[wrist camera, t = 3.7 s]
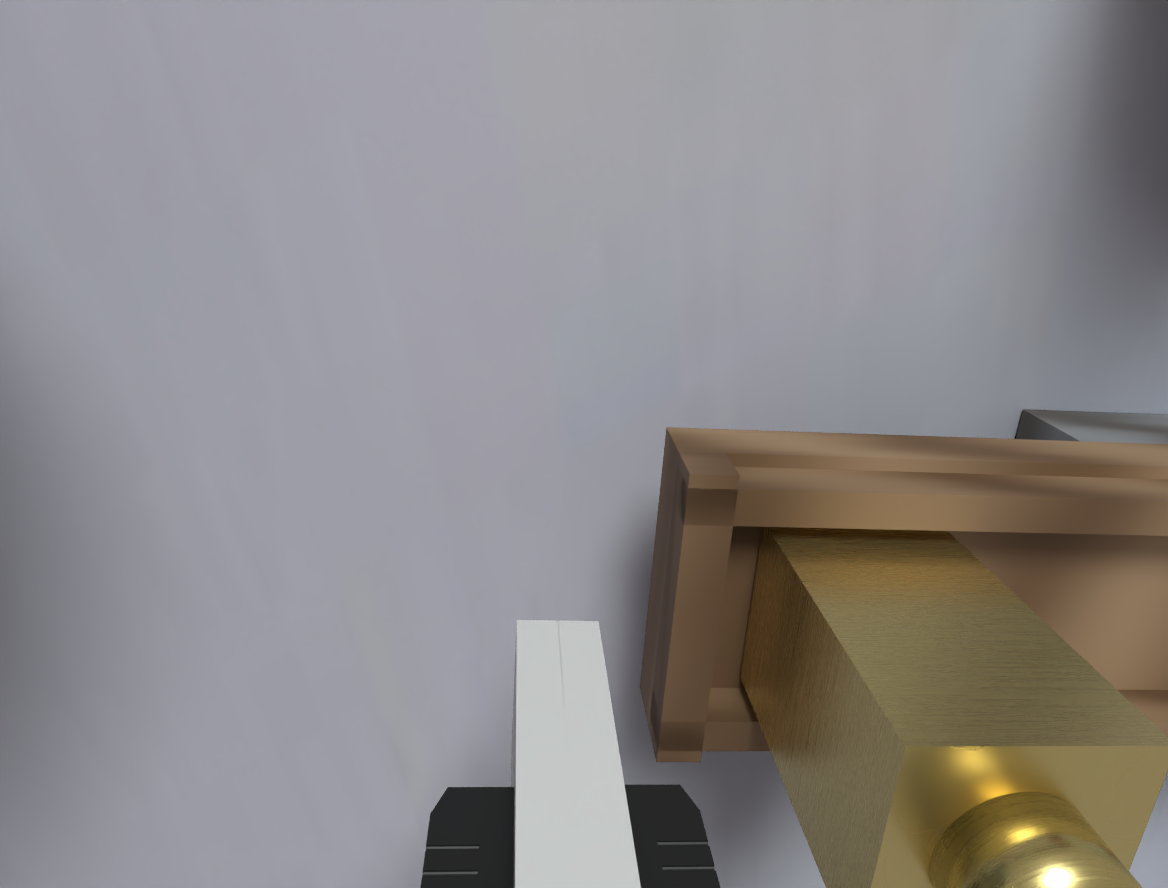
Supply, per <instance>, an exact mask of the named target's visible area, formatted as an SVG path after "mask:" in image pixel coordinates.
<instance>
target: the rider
mask: <svg viewBox="0 0 1168 888" xmlns="http://www.w3.org/2000/svg"><path fill="white" fill-rule="evenodd" d="M740 677H741V680H742V682H743V685H744V687H745V689H746V692H747V694H748V697H749V699H750V702H751V704H752V707H753V709H754V712H755V714H756V717H757V719H758V721H759V724H760V726H761V729H762V731H763V734H764V736H765V739H766V741H767V744H768V746H769V749H770V751H771V753H772V756H773V758H774V761H775V763H776V766H777V768H778V771H779V773H780V776H781V778H782V780H783V783H784V785H785V788H786V790H787V793H788V795H789V798H790V800H791V803H792V805H793V808H794V810H795V812H796V815H797V817H798V820H799V822H800V825H801V827H802V830H803V832H804V835H805V837H806V840H807V842H808V844H809V847H810V849H811V852H812V854H813V857H814V859H815V862H816V864H817V867H818V869H819V871H820V874H821V876H822V879H823V881H824V884H825V886H826V888H1142V887H1141V886H1140V884H1139V883H1138V882H1137V881H1136V880H1135V878H1134V877H1133V876H1132V875H1131V873H1130V872H1129V869H1130V867H1131V864H1132V862H1133V859H1134V856H1135V854H1136V851H1137V849H1138V846H1139V844H1140V841H1141V838H1142V836H1143V833H1144V831H1145V828H1146V825H1147V823H1148V820H1149V818H1150V815H1151V812H1152V810H1153V807H1154V805H1155V802H1156V800H1157V797H1158V794H1159V792H1160V789H1161V787H1162V784H1163V781H1164V779H1165V776H1166V774H1167V771H1168V737H1167V736H1166V735H1165V734H1164V733H1163V732H1162V731H1161V730H1160V729H1159V728H1158V727H1156V726H1155V725H1154V724H1153V723H1152V722H1151V721H1150V720H1149V719H1148V718H1147V717H1146V716H1145V715H1144V714H1143V713H1142V712H1140V711H1139V710H1138V709H1137V708H1136V707H1135V706H1134V705H1133V704H1132V703H1131V702H1130V701H1129V700H1128V699H1127V698H1125V697H1124V696H1123V695H1122V694H1121V693H1120V692H1119V691H1118V690H1117V689H1116V688H1115V687H1114V686H1113V685H1112V684H1111V683H1109V682H1108V681H1107V680H1106V679H1105V678H1104V677H1103V676H1102V675H1101V674H1100V673H1099V672H1098V671H1097V670H1096V669H1095V668H1093V667H1092V666H1091V665H1090V664H1089V663H1088V662H1087V661H1086V660H1085V659H1084V658H1083V657H1082V656H1081V655H1080V654H1078V653H1077V652H1076V651H1075V650H1074V649H1073V648H1072V647H1071V646H1070V645H1069V644H1068V643H1067V642H1066V641H1065V640H1064V639H1062V638H1061V637H1060V636H1059V635H1058V634H1057V633H1056V632H1055V631H1054V630H1053V629H1052V628H1051V627H1050V626H1049V625H1047V624H1046V623H1045V622H1044V621H1043V620H1042V619H1041V618H1040V617H1039V616H1038V615H1037V614H1036V613H1035V612H1034V611H1033V610H1031V609H1030V608H1029V607H1028V606H1027V605H1026V604H1025V603H1024V602H1023V601H1022V600H1021V599H1020V598H1019V597H1018V596H1016V595H1015V594H1014V593H1013V592H1012V591H1011V590H1010V589H1009V588H1008V587H1007V586H1006V585H1005V584H1004V583H1003V582H1002V581H1000V580H999V579H998V578H997V577H996V576H995V575H994V574H993V573H992V572H991V571H990V570H989V569H988V568H987V567H985V566H984V565H983V564H982V563H981V562H980V561H979V560H978V559H977V558H976V557H975V556H974V555H973V554H972V553H971V552H969V551H968V550H967V549H966V548H965V547H964V546H963V545H962V544H961V543H960V542H959V541H958V540H957V539H956V538H955V537H953V536H952V535H951V534H950V533H949V532H948V531H929V530H885V529H841V528H796V527H763V530H762V536H761V543H760V549H759V556H758V562H757V569H756V576H755V582H754V589H753V595H752V602H751V608H750V615H749V622H748V628H747V635H746V641H745V648H744V654H743V661H742V667H741V674H740Z"/></svg>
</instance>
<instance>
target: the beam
mask: <svg viewBox="0 0 1168 888" xmlns="http://www.w3.org/2000/svg"><path fill="white" fill-rule="evenodd" d="M763 527H796V528H841V529H885V530H929V531H948V532H949V533H950V534H951V535H952V536H953V537H955V538H956V539H957V540H958V541H959V542H960V543H961V544H962V545H963V546H964V547H965V548H966V549H967V550H968V551H969V552H971V553H972V554H973V555H974V556H975V557H976V558H977V559H978V560H979V561H980V562H981V563H982V564H983V565H984V566H985V567H987V568H988V569H989V570H990V571H991V572H992V573H993V574H994V575H995V576H996V577H997V578H998V579H999V580H1000V581H1002V582H1003V583H1004V584H1005V585H1006V586H1007V587H1008V588H1009V589H1010V590H1011V591H1012V592H1013V593H1014V594H1015V595H1016V596H1018V597H1019V598H1020V599H1021V600H1022V601H1023V602H1024V603H1025V604H1026V605H1027V606H1028V607H1029V608H1030V609H1031V610H1033V611H1034V612H1035V613H1036V614H1037V615H1038V616H1039V617H1040V618H1041V619H1042V620H1043V621H1044V622H1045V623H1046V624H1047V625H1049V626H1050V627H1051V628H1052V629H1053V630H1054V631H1055V632H1056V633H1057V634H1058V635H1059V636H1060V637H1061V638H1062V639H1064V640H1065V641H1066V642H1067V643H1068V644H1069V645H1070V646H1071V647H1072V648H1073V649H1074V650H1075V651H1076V652H1077V653H1078V654H1080V655H1081V656H1082V657H1083V658H1084V659H1085V660H1086V661H1087V662H1088V663H1089V664H1090V665H1091V666H1092V667H1093V668H1095V669H1096V670H1097V671H1098V672H1099V673H1100V674H1101V675H1102V676H1103V677H1104V678H1105V679H1106V680H1107V681H1108V682H1109V683H1111V684H1112V685H1113V686H1114V687H1115V688H1116V689H1117V690H1118V691H1119V692H1120V693H1121V694H1122V695H1123V696H1124V697H1125V698H1127V699H1128V700H1129V701H1130V702H1131V703H1132V704H1133V705H1134V706H1135V707H1136V708H1137V709H1138V710H1139V711H1140V712H1142V713H1143V714H1144V715H1145V716H1146V717H1147V718H1148V719H1149V720H1150V721H1151V722H1152V723H1153V724H1154V725H1155V726H1156V727H1158V728H1159V729H1160V730H1161V731H1162V732H1163V733H1164V734H1165V735H1166V736H1167V737H1168V415H1158V414H1130V413H1103V412H1076V411H1049V410H1023V412H1022V416H1021V420H1020V424H1019V427H1018V431H1017V435H1016V439H997V438H967V437H937V436H907V435H877V434H847V433H817V432H788V431H758V430H728V429H698V428H668V427H667V428H666V438H665V447H664V457H663V467H662V477H661V486H660V496H659V506H658V516H657V525H656V535H655V545H654V555H653V565H652V574H651V584H650V594H649V604H648V613H647V623H646V633H645V643H644V652H643V662H642V672H641V682H640V689H641V693H642V698H643V702H644V707H645V712H646V716H647V721H648V725H649V730H650V734H651V739H652V743H653V748H654V752H655V757H656V762H700V761H701V754H702V751H770V749H769V746H768V744H767V741H766V739H765V736H764V734H763V731H762V729H761V726H760V724H759V721H758V719H757V717H756V714H755V712H754V709H753V707H752V704H751V702H750V699H749V697H748V694H747V692H746V689H745V687H744V685H743V682H742V680H741V677H740V674H741V667H742V661H743V654H744V648H745V641H746V635H747V628H748V622H749V615H750V608H751V602H752V595H753V589H754V582H755V576H756V569H757V562H758V556H759V549H760V543H761V536H762V530H763Z"/></svg>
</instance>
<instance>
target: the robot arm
mask: <svg viewBox="0 0 1168 888" xmlns="http://www.w3.org/2000/svg"><path fill="white" fill-rule="evenodd" d="M421 888H720V885H719V881H718V877H717V873H716V871H715V870H714V862H713V858H712V854H711V851H710V847H709V846H708V839H707V836H706V832H705V828H704V824H703V820H702V817H701V813H700V810H699V809H698V807H697V806H696V805H695V804H694V802H693V801H692V800H691V798H690V797H689V796H688V795H687V793H686V792H685V791H684V789H683V788H682V787H681V786H680V785H624V779H623V772H622V766H621V760H620V753H619V747H618V741H617V735H616V728H615V722H614V716H613V710H612V703H611V697H610V691H609V685H608V678H607V672H606V666H605V659H604V653H603V647H602V641H601V634H600V628H599V622H598V621H551V620H517V628H516V652H515V676H514V700H513V724H512V762H511V787H448V788H447V789H446V791H445V793H444V794H443V796H442V797H441V799H440V800H439V802H438V803H437V805H436V806H435V808H434V809H433V811H432V812H431V814H430V821H429V828H428V836H427V844H426V851H425V859H424V867H423V877H422V882H421Z"/></svg>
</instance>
